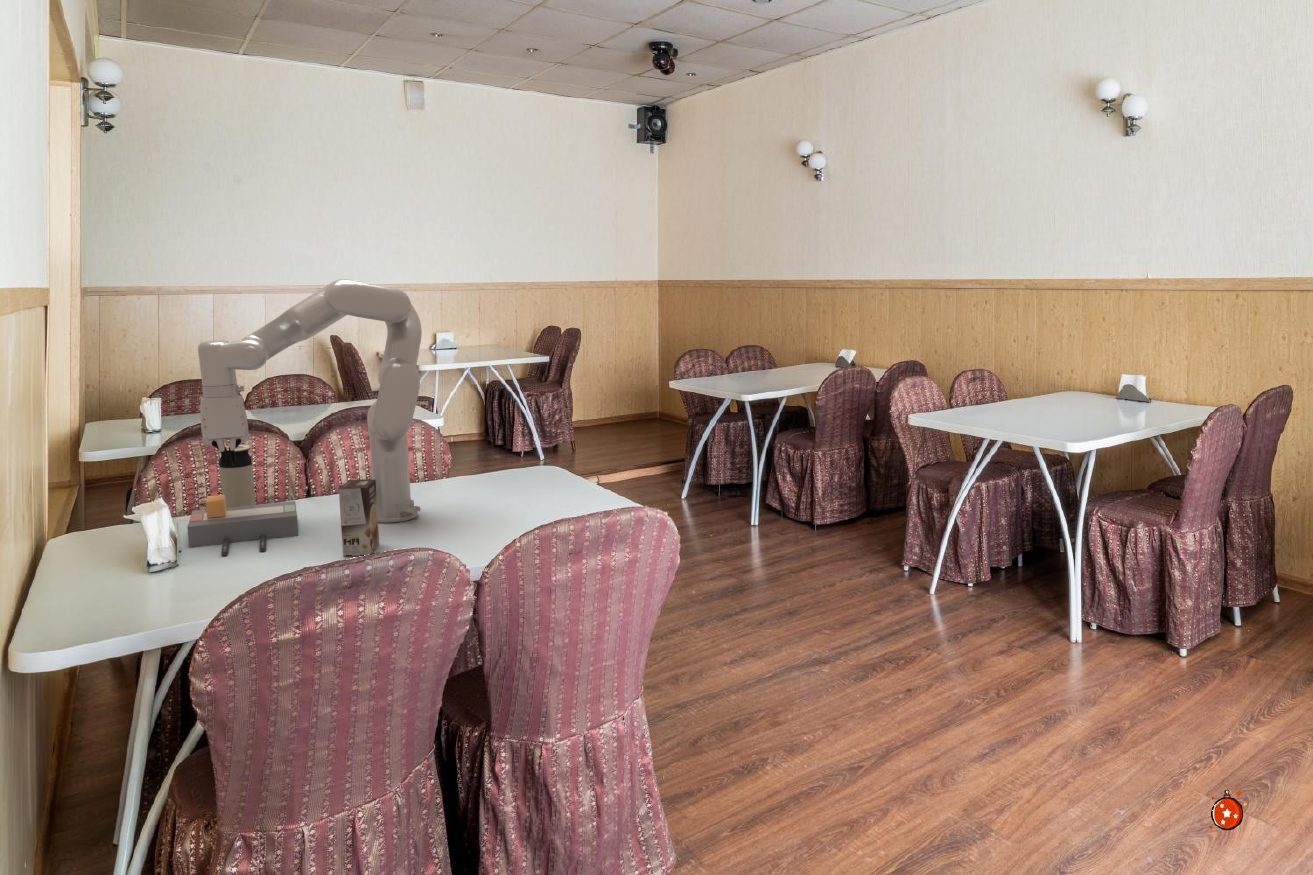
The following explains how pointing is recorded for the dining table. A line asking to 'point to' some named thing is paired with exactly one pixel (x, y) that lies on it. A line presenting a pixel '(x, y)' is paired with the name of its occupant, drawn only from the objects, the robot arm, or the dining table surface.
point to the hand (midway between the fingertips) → (229, 466)
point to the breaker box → (243, 525)
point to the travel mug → (238, 479)
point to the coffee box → (359, 517)
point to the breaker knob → (216, 506)
